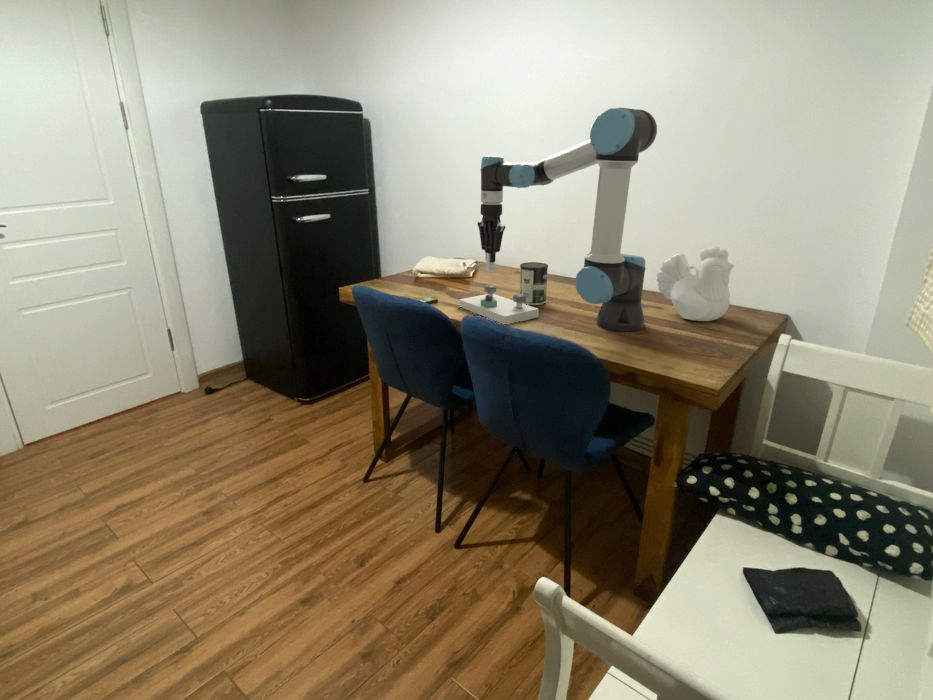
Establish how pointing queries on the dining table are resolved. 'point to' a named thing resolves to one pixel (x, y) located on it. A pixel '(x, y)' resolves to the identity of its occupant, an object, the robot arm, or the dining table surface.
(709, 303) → the decorative rooster
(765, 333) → the dining table surface
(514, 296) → the knob near
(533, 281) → the coffee can
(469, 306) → the panel
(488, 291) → the knob far
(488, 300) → the knob
